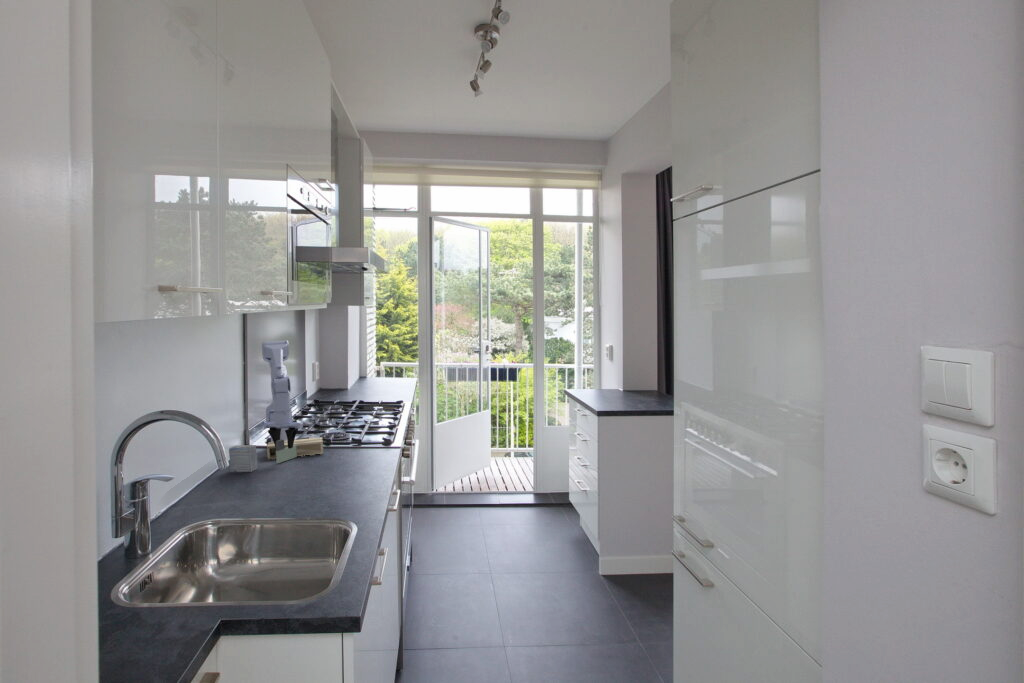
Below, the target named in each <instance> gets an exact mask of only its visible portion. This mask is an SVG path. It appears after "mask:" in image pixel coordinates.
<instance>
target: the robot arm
mask: <svg viewBox="0 0 1024 683" xmlns="http://www.w3.org/2000/svg"><path fill="white" fill-rule="evenodd" d="M289 344H290V343H289V340H287V339H285V340H275V341H274V340H271V341H264V340H263V341H262V343H261V353H262V359H263V362H266V363H268V365H269V368H270V379H271V380H270V388H271V390H270V391H271V396H272V398H271V399H272V402H271V403H270V404H269V405H268V406H266V409H265V422H264V423H263V429H268V430H267V433H268V435H269V436H270V442H274V444H275V447H276V441H278V440H281V439H282V440H284V441H288V449H290V448H292V447H293V443H294V440H296V439H295V438H296V436H297V433H298V431H299V430H301V429H303V428H304V424H303V422H299V421H298V422H297V421H293V410H292V406H291V395H290V394H291V391H292V390H291V389H292V386H291V380H290V377H289V376H288V375H289V374H288V369H287V366H286V365H284V362H285V361H287V360H289V355H290V345H289Z"/></svg>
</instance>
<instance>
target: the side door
mask: <svg viewBox="0 0 1024 683" xmlns="http://www.w3.org/2000/svg"><path fill="white" fill-rule="evenodd" d="M295 458H298V457H297V448H296V445H293V447H292V448H290V449H288V447H287V448H284V440H282V439H281V440H278V441H276V459H275V461H276V464H280V463H282V462H286V461H289V460H292V459H295Z"/></svg>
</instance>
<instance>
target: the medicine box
mask: <svg viewBox="0 0 1024 683" xmlns="http://www.w3.org/2000/svg"><path fill="white" fill-rule="evenodd" d="M228 455H229V456H228V457H229V470H230V473H253V472H255V471H257V470H258V467H259V466H258V457H257V456H258V454H257V445H252V444H251V445H250V444H249V445H245V444H243V445H233V446H232V447H231V446H230V448H228ZM254 470H255V471H254ZM235 471H236V472H235ZM252 471H253V472H252Z"/></svg>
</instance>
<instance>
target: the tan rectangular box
mask: <svg viewBox="0 0 1024 683" xmlns="http://www.w3.org/2000/svg"><path fill="white" fill-rule="evenodd" d="M323 441H324V440H323V437H310V438H300V439H299V438H298V439H294V443H293V445H296V448H297V456H301V457H306V456H305V455H310V456H316V455H315V454H320V455H324V443H323ZM287 447H288V441H284V448H287ZM266 452H267V453H266V454H267V455H266V456H267V460H268V461H270V459H272V460H276V447H275V444H274V442H271V441H270V442H269V441H268V442H267V445H266ZM303 455H304V456H303Z"/></svg>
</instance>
